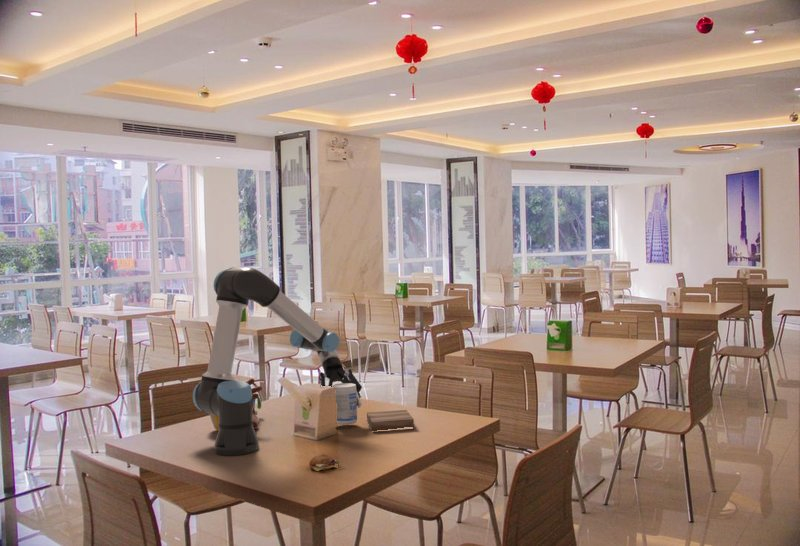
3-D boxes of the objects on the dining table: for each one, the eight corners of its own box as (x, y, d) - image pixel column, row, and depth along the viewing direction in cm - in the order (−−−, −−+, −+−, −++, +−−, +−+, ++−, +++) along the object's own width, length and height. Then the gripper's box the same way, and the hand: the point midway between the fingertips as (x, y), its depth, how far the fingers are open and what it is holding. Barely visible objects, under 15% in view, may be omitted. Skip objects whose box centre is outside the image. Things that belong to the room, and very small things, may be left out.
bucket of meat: (207, 414, 278) (254, 398, 287) (220, 447, 269) (269, 429, 277) (203, 384, 264) (253, 368, 273) (217, 418, 255) (269, 400, 263)
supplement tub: (355, 425, 265) (354, 387, 265) (331, 425, 266) (330, 387, 265) (358, 419, 275) (357, 382, 274) (335, 419, 275) (334, 382, 275)
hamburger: (314, 478, 210) (314, 459, 210) (300, 466, 222) (300, 447, 222) (357, 471, 216) (357, 452, 215) (341, 459, 228) (341, 441, 228)
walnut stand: (413, 429, 262) (413, 419, 262) (372, 432, 260) (371, 421, 260) (406, 419, 278) (406, 409, 278) (367, 422, 276) (366, 412, 276)
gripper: (352, 364, 289) (370, 409, 275) (302, 370, 278) (319, 416, 264) (357, 353, 284) (376, 398, 270) (307, 358, 273) (324, 405, 260)
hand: (348, 407), depth 267 cm, fingers closed on supplement tub, 9 cm apart
